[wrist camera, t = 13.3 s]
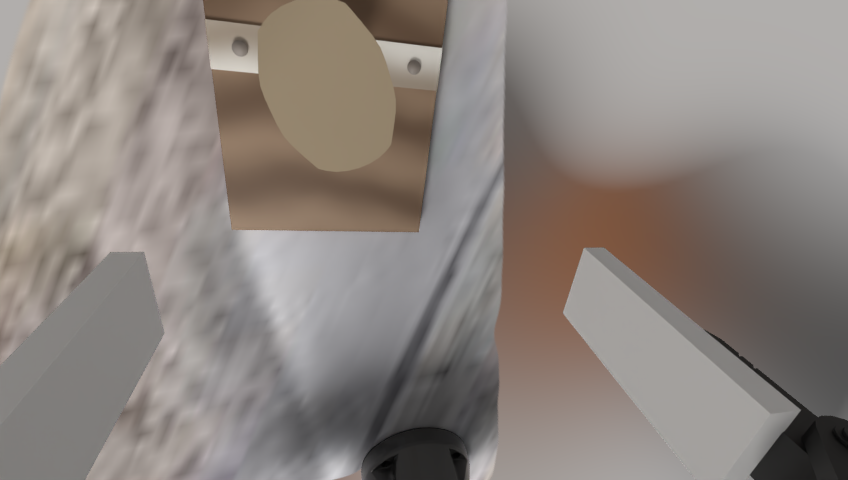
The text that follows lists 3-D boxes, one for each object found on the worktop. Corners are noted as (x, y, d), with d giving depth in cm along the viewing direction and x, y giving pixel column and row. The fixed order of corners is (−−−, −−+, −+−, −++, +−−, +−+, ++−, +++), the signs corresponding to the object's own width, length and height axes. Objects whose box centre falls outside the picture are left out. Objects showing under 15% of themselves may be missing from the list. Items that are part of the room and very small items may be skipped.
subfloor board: (415, 224, 38) (419, 234, 37) (235, 221, 35) (230, 231, 33) (445, -23, 29) (452, -25, 27) (201, -63, 25) (192, -68, 23)
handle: (317, 112, 30) (305, 185, 17) (278, 17, 26) (228, 21, 14) (378, 92, 30) (412, 150, 17) (347, -5, 27) (361, -21, 14)
